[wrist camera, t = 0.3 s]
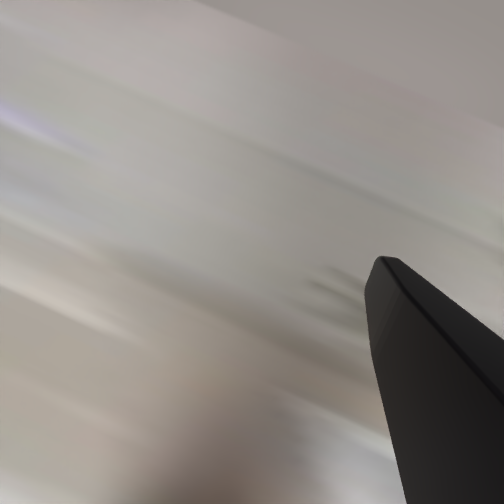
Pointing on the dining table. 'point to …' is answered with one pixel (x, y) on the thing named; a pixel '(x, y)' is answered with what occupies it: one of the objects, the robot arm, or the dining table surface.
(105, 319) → the dining table surface
